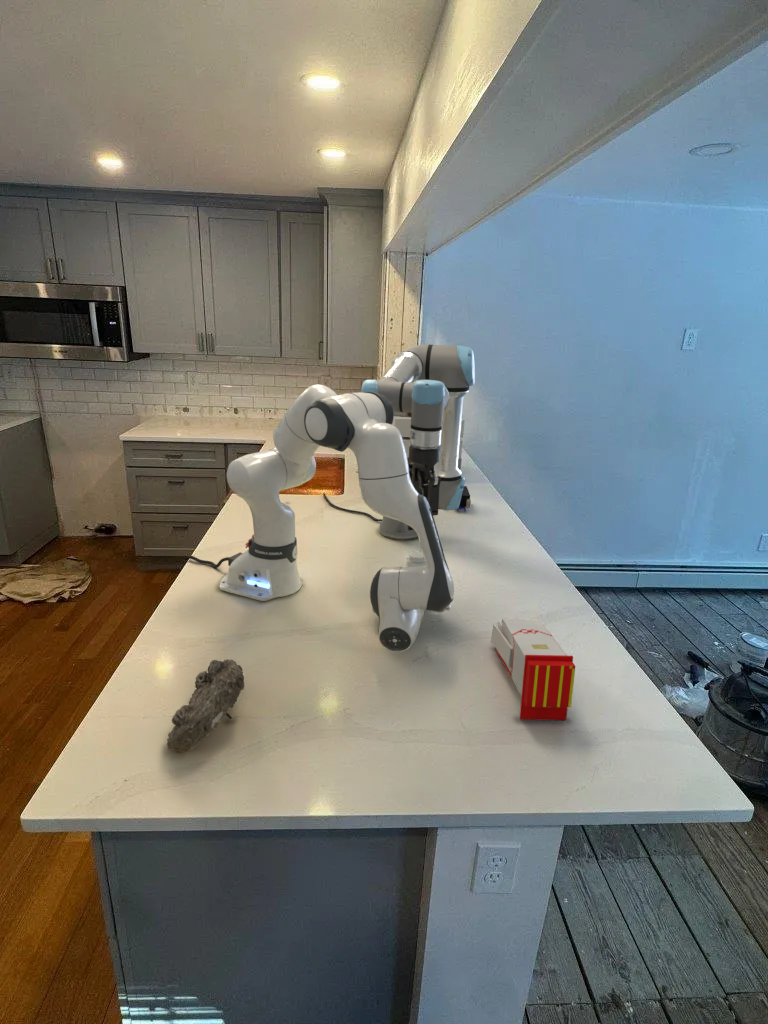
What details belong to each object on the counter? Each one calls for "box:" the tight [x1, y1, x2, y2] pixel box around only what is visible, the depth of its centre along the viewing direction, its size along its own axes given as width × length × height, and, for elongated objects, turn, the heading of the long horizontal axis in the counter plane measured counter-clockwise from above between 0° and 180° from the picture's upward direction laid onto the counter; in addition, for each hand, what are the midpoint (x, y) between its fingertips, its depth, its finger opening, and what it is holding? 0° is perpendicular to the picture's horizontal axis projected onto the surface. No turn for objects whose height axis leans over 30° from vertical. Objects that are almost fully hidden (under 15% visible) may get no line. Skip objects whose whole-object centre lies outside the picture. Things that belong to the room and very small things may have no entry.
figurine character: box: [456, 485, 472, 513], centre depth 228 cm, size 7×8×15 cm
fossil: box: [166, 658, 245, 754], centre depth 106 cm, size 22×10×15 cm
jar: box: [405, 550, 426, 567], centre depth 150 cm, size 6×6×15 cm
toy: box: [490, 617, 576, 721], centre depth 122 cm, size 12×13×30 cm
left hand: (415, 581), depth 151 cm, fingers closed on jar, 5 cm apart
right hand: (418, 533), depth 146 cm, fingers closed on lid, 6 cm apart
